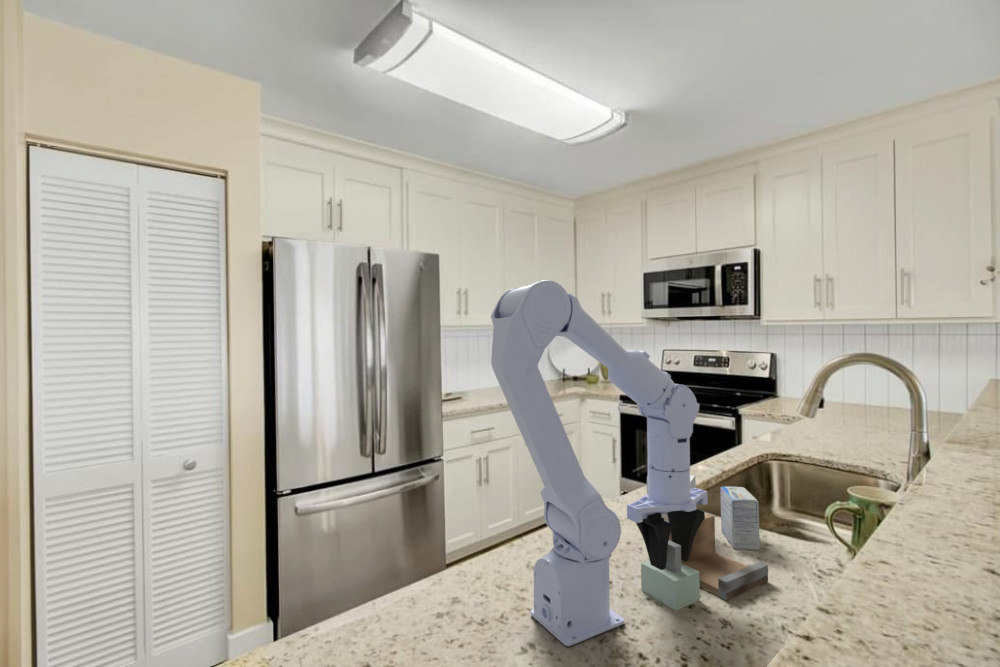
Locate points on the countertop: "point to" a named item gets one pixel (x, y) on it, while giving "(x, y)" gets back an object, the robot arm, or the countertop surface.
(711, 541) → the board
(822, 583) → the countertop surface
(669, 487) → the robot arm
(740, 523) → the medicine box
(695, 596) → the mint block with tab
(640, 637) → the countertop surface
